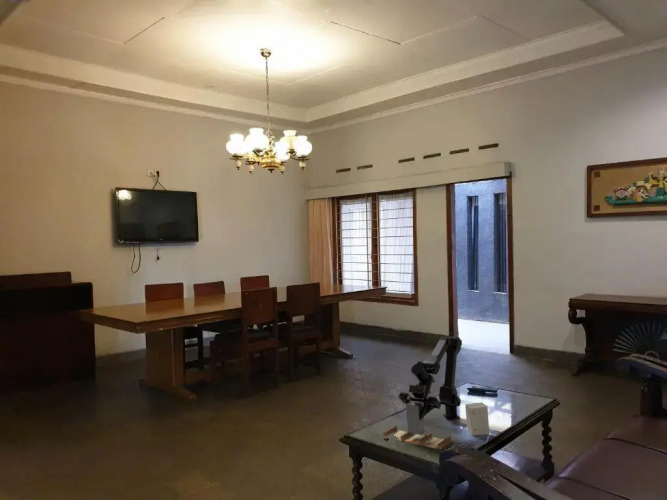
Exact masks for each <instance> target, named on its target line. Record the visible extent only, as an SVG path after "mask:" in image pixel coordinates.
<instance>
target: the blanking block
mask: <svg viewBox="0 0 667 500" xmlns="http://www.w3.org/2000/svg"><path fill="white" fill-rule="evenodd" d="M405 408H406V410H405V411H406V420H407V432H408V433H413V434H418V435H423V434H425V431H426V430H425V416H424V417H423V418H422V419H421V420H420V419H419V418H420V414H421V411H422V408H423V403H420V402H414V401H412V402H409V403H407V404H405Z"/></svg>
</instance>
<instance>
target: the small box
mask: <svg viewBox="0 0 667 500" xmlns="http://www.w3.org/2000/svg"><path fill="white" fill-rule="evenodd" d="M488 409H489V407H488V405H486V404H485V403H483V402H473V403H465V416H466V417H465V418H466V419H465V420H466V430H467V432H468V433H469V434H470V435H471V436H481V435H487V437H488V436H489V437H490V425H489V424H490V423H489V421H490V420H489V410H488Z"/></svg>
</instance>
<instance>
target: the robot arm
mask: <svg viewBox="0 0 667 500" xmlns="http://www.w3.org/2000/svg"><path fill="white" fill-rule="evenodd" d="M437 342H438V343H436V346H435V348H434V349H433V351H432V352H431V355H429V356H427V357H426V358H425V359H424V360H423V361H417V363H416V364H413V365H412V366H411V368H410V370H411V373H412V375H413V376H414V377H415V378H416V380H418V384H415V385H414V384H413V385H412V384H409V386H408V392H402V391H401V392H400V393H399V394H398V399H400V401H401V402H402V403H404V404H405V405H406V404H407V403H409V402H416V403H422V404H423V408H422V411H421V414H420V418H419V419H420V420H421V419H422V418H423V417H424V418H425V416H427V414H428V413H430V412H432V411H433V410H436V409H437V410H440V409H441V407H442V406H444V414H443V415H442V416H443V417H444V418H445V419H446V420H457V419H461V417H460V416H459V415H458V408H457V407H460V406H461V403H462V400H461V398H460V397H459V396H458V390H457V388H456V385H455V381H456V369H457V357H458V354H459V352H461V349H462V345H463V340H462V339H461V338H460V337H458V336H449V335H448V336H440V337H439V338H438V341H437ZM445 353H446V358H445V360H446V361H445V369H444V382H443V384H442V385H441V386H440V387H439V392H438V398H437V397H436V396H429V395H430V394H431V393H432V392H431V387H432V385H433V383H435V382H436V381H435V379H434V376H432V375H438V374H439V372H440V369H441V364H440V363H441V361H442V358H443V357H444V355H445ZM409 393H411V395H410V394H409Z"/></svg>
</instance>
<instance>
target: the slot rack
mask: <svg viewBox="0 0 667 500" xmlns="http://www.w3.org/2000/svg"><path fill="white" fill-rule="evenodd" d="M393 432H394V433H395V434H394V436H396V437H398V439H397V440H396V441H401V442H405V443H410V444H415V445H419V446H424V447H427V448H432V449H436V450H442V449H443V448H445V447H446V446H447V445H448V444H450V443H451V442H452V439H451V438H452V437H451V435H448V436H447V437H445V438H444V439H443V438H439V437H434V436H433V432H432V431H430V432H428V433H427V434H425V435H424V434H421V435H418V434H413V433H408V431H406V430H405V431H404V430H402V429H401V430H400V429H398V426H397V424H395V425H393V426H391V427H390V428H389V429H387V430H385V431H384V432H383V437H384V436H387V435H389V434H391V433H393Z"/></svg>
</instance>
